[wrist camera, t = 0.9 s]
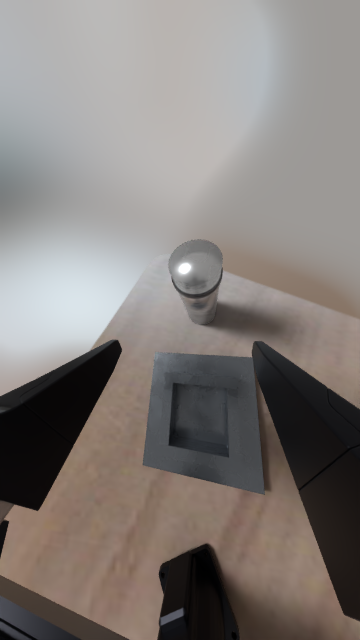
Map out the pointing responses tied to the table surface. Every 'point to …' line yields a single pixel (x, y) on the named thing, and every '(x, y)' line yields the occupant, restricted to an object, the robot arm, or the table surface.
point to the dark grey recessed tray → (205, 419)
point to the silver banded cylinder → (197, 278)
